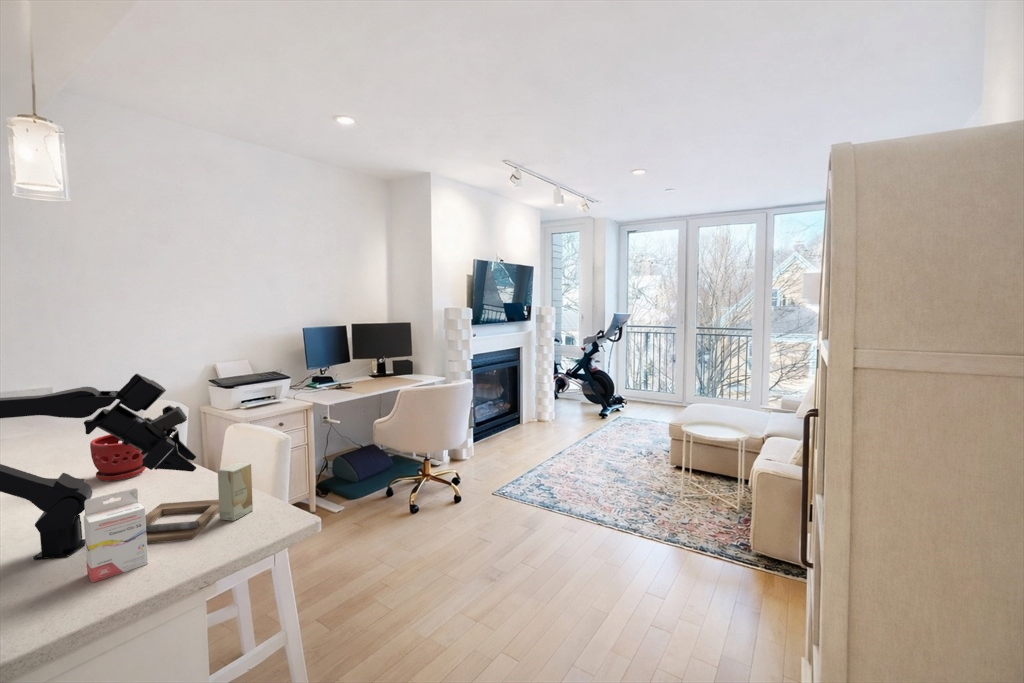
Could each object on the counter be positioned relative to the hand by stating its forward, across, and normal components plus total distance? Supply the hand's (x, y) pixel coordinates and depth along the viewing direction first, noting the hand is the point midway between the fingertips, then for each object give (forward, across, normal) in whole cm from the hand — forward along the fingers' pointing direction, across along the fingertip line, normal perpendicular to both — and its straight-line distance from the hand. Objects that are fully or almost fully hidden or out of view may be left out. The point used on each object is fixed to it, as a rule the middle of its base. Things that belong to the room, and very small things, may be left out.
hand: (194, 463), depth 109 cm
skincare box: (+15, -2, +5) cm, 16 cm away
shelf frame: (+6, +1, +13) cm, 15 cm away
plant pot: (-4, +48, +23) cm, 54 cm away
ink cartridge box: (0, -16, +19) cm, 25 cm away
